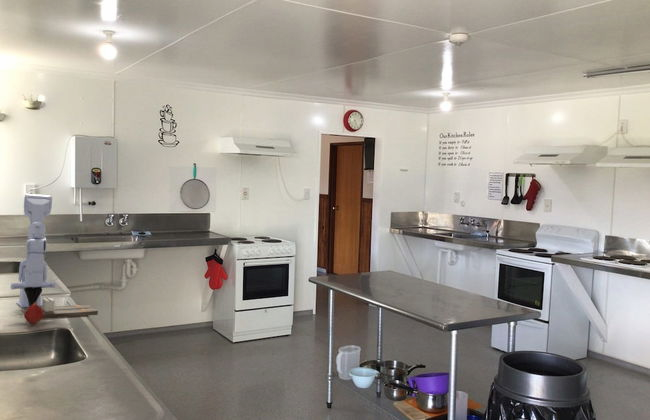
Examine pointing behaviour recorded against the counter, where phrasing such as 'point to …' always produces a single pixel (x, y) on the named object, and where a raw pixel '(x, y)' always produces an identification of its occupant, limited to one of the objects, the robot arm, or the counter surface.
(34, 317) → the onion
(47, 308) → the fader knob
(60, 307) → the fader console
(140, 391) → the counter surface
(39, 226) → the robot arm
